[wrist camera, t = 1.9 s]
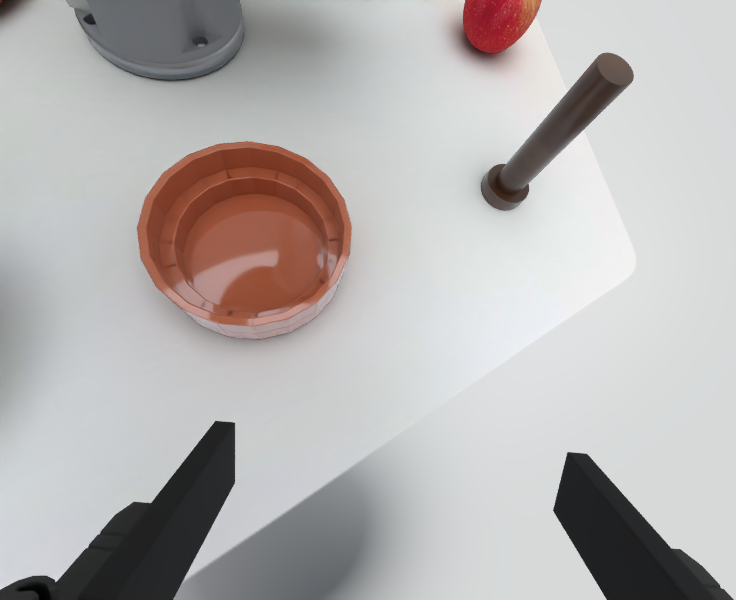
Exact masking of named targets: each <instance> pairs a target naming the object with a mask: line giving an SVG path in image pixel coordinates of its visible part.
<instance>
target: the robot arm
mask: <svg viewBox="0 0 736 600" xmlns="http://www.w3.org/2000/svg"><path fill="white" fill-rule="evenodd" d="M66 1H67V3H68V5H69V6H70V7H73V8H74V10H75V13H76V16H77V18H78V21H79V22H80V24H81V26H82V28H83V30H84V31H85V33H86V35H87V37H88V38H89V40H90V42H91V43H92V45H93V46H94V47H95V49H96V50H97V51H98V52H99V53H100V54H101V55H102V56H104V57H105V58H106V59H107V60H109V61H110V62H112V63H113V64H115V65H117V66H118V67H120V68H122V69H125V70H127V71H129V72H132V73H135V74H138V75H141V76H145V77H150V78H156V79H167V80H177V79H188V78H194V77H198V76H202V75H205V74H208V73H210V72H213V71H215V70H217V69H219V68H220V67H222V66H223V65H225V64H226V63H227V62H229V61H230V60H231V59H232V58H233V57H234V55H235V54H236V53H237V51H238V50H239V48H240V46H241V43H242V40H243V35H244V26H243V18H242V11H241V5H240V2H239V0H66ZM234 483H235V423H233V422H221V421H215V422H214V424H213V425H212V426H211V427H210V429H209V430H208V431H207V433H206V434H205V435H204V436H203V438H202V439H201V440H200V441H199V443H198V444H197V445H196V447H195V448H194V449H193V450H192V452H191V453H190V454H189V455H188V457H187V458H186V459H185V461H184V462H183V463H182V464H181V466H180V467H179V468H178V469H177V471H176V472H175V473H174V475H173V476H172V477H171V478H170V480H169V481H168V482H167V484H166V485H165V486H164V487H163V489H162V490H161V491H160V492H159V494H158V495H157V496H156V498H155V499H154V500H153V501H152V503H141V502H133V503H132V504H130V505H129V506H127V507H126V508H124V509H123V510H122V511H120V512H119V513H117V514H116V515H115V516H114V517H113V518H112V519H111V520H110V521H109V523H108V524H107V525H106V526H105V527H104V528H103V529H102V531H101V533H100V535H97V536H96V537H95V539H94V540H93V541H92V542H91V543H90V544H89V547H88V548H86V549H85V550H84V551H83V552H82V554H81V555H80V556H79V557H78V558H77V559H76V560H75V562H74V563H73V564H72V565H71V566H70V567H69V568H68V570H67V571H66V572H65V573H64V574H63V575H62V576H61V578H60V579H59V580H58V581H57V582H56V583H55V580H54V579H52V578H50V577H48V576H32V577H28V578H25V579H22V580H18V581H16V582H14V583H12V584H10V585H9V586H7V587H5V588H3V589H1V590H0V600H173V598H174V597H175V595H176V593H177V591H178V589H179V587H180V585H181V583H182V581H183V580H184V578H185V576H186V574H187V572H188V570H189V568H190V566H191V564H192V563H193V561H194V559H195V557H196V555H197V553H198V551H199V549H200V547H201V546H202V544H203V542H204V540H205V538H206V536H207V534H208V532H209V530H210V529H211V527H212V525H213V523H214V521H215V519H216V517H217V515H218V513H219V512H220V510H221V508H222V506H223V504H224V502H225V500H226V498H227V497H228V495H229V493H230V491H231V489H232V487H233V485H234ZM553 511H554V513H555V514H556V516H557V518H558V519H559V521H560V523H561V524H562V526H563V528H564V529H565V531H566V533H567V534H568V536H569V538H570V539H571V541H572V542H573V544H574V546H575V548H576V549H577V551H578V552H579V554H580V556H581V558H582V559H583V561H584V562H585V564H586V566H587V568H588V569H589V571H590V572H591V574H592V576H593V577H594V579H595V581H596V582H597V584H598V586H599V587H600V589H601V591H602V592H603V594H604V596H605V597H606V599H607V600H733V599H732V597H731V596H730V595H729V594H728V593H727V592H726V591H725V590H724V589H721V588H720V585H719V584H718V583H717V581H716V580H715V579H714V578H713V577H712V576H711V575H710V574H709V573H708V572H707V571H706V570H705V569H704V568H703V566H701V565H700V564H699V563H697V562H696V561H695V560H693V559H692V558H691V557H690V556H688V555H687V554H686V553H684V552H683V551H682V550H680V549H671V548H670V546H668V544H667V543H666V542H665V541H664V540H663V539H662V538H661V536H660V535H659V534H658V533H657V532H656V531H655V530H654V529H653V527H652V526H651V525H650V524H649V523H648V522H647V521H646V520H645V518H644V517H643V516H642V515H641V514H640V513H639V512H638V511H637V509H636V508H635V507H634V506H633V505H632V504H631V503H630V502H629V501H628V499H627V498H626V497H625V496H624V495H623V494H622V493H621V492H620V491H619V489H618V488H617V487H616V486H615V485H614V484H613V483H612V482H611V481H610V479H609V478H608V477H607V476H606V475H605V474H604V472H602V470H601V469H600V468H599V467H598V466H597V465H596V463H595V462H594V461H593V460H592V459H591V458H590V457H589V456H588V455H587V454H582V453H570V452H568V453H567V457H566V461H565V465H564V469H563V473H562V477H561V481H560V485H559V489H558V493H557V497H556V502H555V506H554V510H553Z"/></svg>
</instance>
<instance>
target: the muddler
mask: <svg viewBox="0 0 736 600" xmlns="http://www.w3.org/2000/svg"><path fill="white" fill-rule="evenodd" d="M633 77H634V75H633V71H632V69H631V67H630V66H629V64H628V63H627V62H626V61H625V60H624V59H622V58H621V57H619V56H618V55H615V54H612V53H603V54H601V55H599V56H598V57H597V58H596V59H595V61H594V62H593V63H592V64H591V65H590V66H589V68H588V69H587V70H586V71H585V72H584V73H583V75H582V76H581V77H580V78H579V79H578V80H577V82H576V83H575V84H574V85H573V86H572V87H571V89H570V90H569V91H568V92H567V93H566V95H565V96H564V97H563V98H562V99H561V100H560V102H559V103H558V104H557V105H556V106H555V107H554V109H553V110H552V111H551V112H550V113H549V114H548V116H547V117H546V118H545V119H544V120H543V122H542V123H541V124H540V125H539V126H538V127H537V129H536V130H535V131H534V132H533V133H532V134H531V136H530V137H529V138H528V139H527V140H526V141H525V143H524V144H523V145H522V146H521V147H520V149H519V150H518V151H517V152H516V153H515V154H514V156H513V157H512V158H511V159H510V160H509V161H508V163H507V164H499V165H496V166H494V167H493V168H491V170H490V171H489V172H488V173H487V175H486V176H485V177H484V178H483V180H482V183H481V190H482V194H483V196H484V198H485V199H486V200H487V202H488V203H489V204H491V205H492V206H494V207H495V208H498V209H501V210H511V209H513V208H515V207H517V206H518V205H519V204H520V203H521V202H522V201H523V200H524V199H525V198H526V197H527V195H528V192H529V184H528V183H529V182H530V181H531V180H532V179H533V178H534V177H536V176H537V175H538V174H539V173H540V172H541V171H542V170H543V169H544V168H545V167H546V166H547V165H548V164H549V163H550V162H551V161H552V160H553V159H554V158H555V157H556V156H557V155H558V154H559V153H560V152H561V151H562V150H563V149H564V148H565V147H566V146H567V145H568V144H569V143H570V142H571V141H572V140H573V139H574V138H575V137H576V136H577V135H579V134H580V133H581V132H582V131H583V130H584V129H585V128H586V127H587V126H588V125H589V124H590V123H591V122H592V121H593V120H594V119H595V118H596V117H597V116H598V115H599V114H600V113H601V112H602V111H603V110H604V109H605V108H606V107H607V106H608V105H609V104H610V103H611V102H612V101H613V100H614V99H615V98H616V97H617V96H618V95H619V94H620V93H621V92H623V90H624V89H626V88H627V87H628V86H629V85H630V83H632V81H633Z"/></svg>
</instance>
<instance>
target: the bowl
mask: <svg viewBox="0 0 736 600" xmlns="http://www.w3.org/2000/svg"><path fill="white" fill-rule="evenodd" d="M137 231H138V240H139V248H140V256H141V260H142V262H143V264H144V266H145V267H146V269H147V271H148V273H149V275H150V277H151V278H152V280H153V282H154V284H155V286H156V287H157V288H158V289H159V290H160V291H161V292H162V293H164V294H165V295H166V296H167V297H168V298H169V299H170V300H172V301H173V302H174V303H175V304H176V305H177V306H179V307H180V308H181V309H182V310H183V311H184V312H186V313H187V314H188V315H189V316H190V317H191V318H193V319H194V320H195V321H196V322H197V323H198V324H200V325H201V326H203V327H205V328H208V329H210V330H213V331H215V332H218V333H220V334H223V335H225V336H228V337H235V338H248V339H264V338H268V337H273V336H277V335H281V334H286V333H290V332H292V331H293V330H295V329H297V328H299V327H300V326H302V325H304V324H306V323H307V322H309V321H311V320H313V319H314V318H315V317H316V316H317V315H318V314H319V313H320V312H321V311H322V309H323V308H324V307H325V306H326V305H327V304H328V303H329V302H330V301H331V300H332V298H333V296H334V294H335V291H336V289H337V287H338V284H339V282H340V280H341V278H342V275H343V272H344V269H345V266H346V263H347V260H348V257H349V254H350V242H351V222H350V219H349V215H348V212H347V208H346V205H345V201H344V199H343V197H342V196H341V194H340V193H339V191H338V190H337V188H336V187H335V186H334V184H333V183H332V181H331V180H330V178H329V177H328V176H327V175H326V174H325V173H323V172H322V171H321V170H320V169H319V168H317V167H316V166H315V165H314V164H312V163H311V162H310V161H309V160H308V159H306V158H304V157H302V156H300V155H297V154H295V153H293V152H291V151H288V150H286V149H284V148H281V147H279V146H273V145H267V144H261V143H255V142H248V141H247V142H236V143H224V144H218V145H214V146H211V147H208V148H206V149H203V150H200V151H197V152H195V153H192V154H189V155H187V156H186V157H184V158H183V159H182V160H180V161H179V162H178V163H176V164H175V165H174V166H172V167H171V168H169V169H168V170H167V171H165V172H164V173H163V174H162V175H161V177H160V178H159V179H158V181H157V182H156V184H155V185H154V186H153V188H152V189H151V191H150V192H149V193H148V195H147V196H146V199H145V200H144V204H143V208H142V211H141V215H140V219H139V223H138V226H137Z"/></svg>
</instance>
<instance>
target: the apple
mask: <svg viewBox="0 0 736 600" xmlns="http://www.w3.org/2000/svg"><path fill="white" fill-rule="evenodd" d="M540 4H541V0H465V4H464V11H463V25H464V30H465V33H466V36H467V38H468V40H469V41H470V43H471V44H472V45H473V46H474V47H475V48H476V49H478V50H480V51H483V52H487V53H498V52H501V51H503V50H505V49H507V48H508V47H510V46H511V45H512V44H514V43H515V42H516V41H517V40H518V39H519V38H520V37H521V36H522V35H523V34H524V33H525V32H526V30H527V29H528V28H529V26H530V25H531V23H532V22H533V20H534V18H535V16H536V14H537V12H538V10H539V7H540Z"/></svg>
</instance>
